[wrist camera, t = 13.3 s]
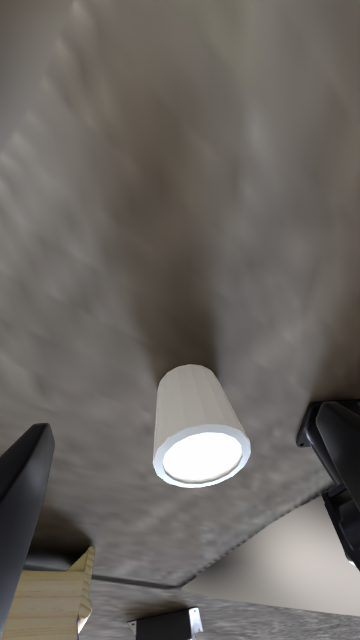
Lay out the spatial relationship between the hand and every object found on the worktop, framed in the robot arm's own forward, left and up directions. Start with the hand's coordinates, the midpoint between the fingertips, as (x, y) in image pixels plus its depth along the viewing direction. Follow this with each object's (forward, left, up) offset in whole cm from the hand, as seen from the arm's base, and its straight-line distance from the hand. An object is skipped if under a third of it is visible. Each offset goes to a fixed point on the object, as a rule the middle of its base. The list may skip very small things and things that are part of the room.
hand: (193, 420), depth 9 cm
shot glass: (-10, -2, -12) cm, 16 cm away
